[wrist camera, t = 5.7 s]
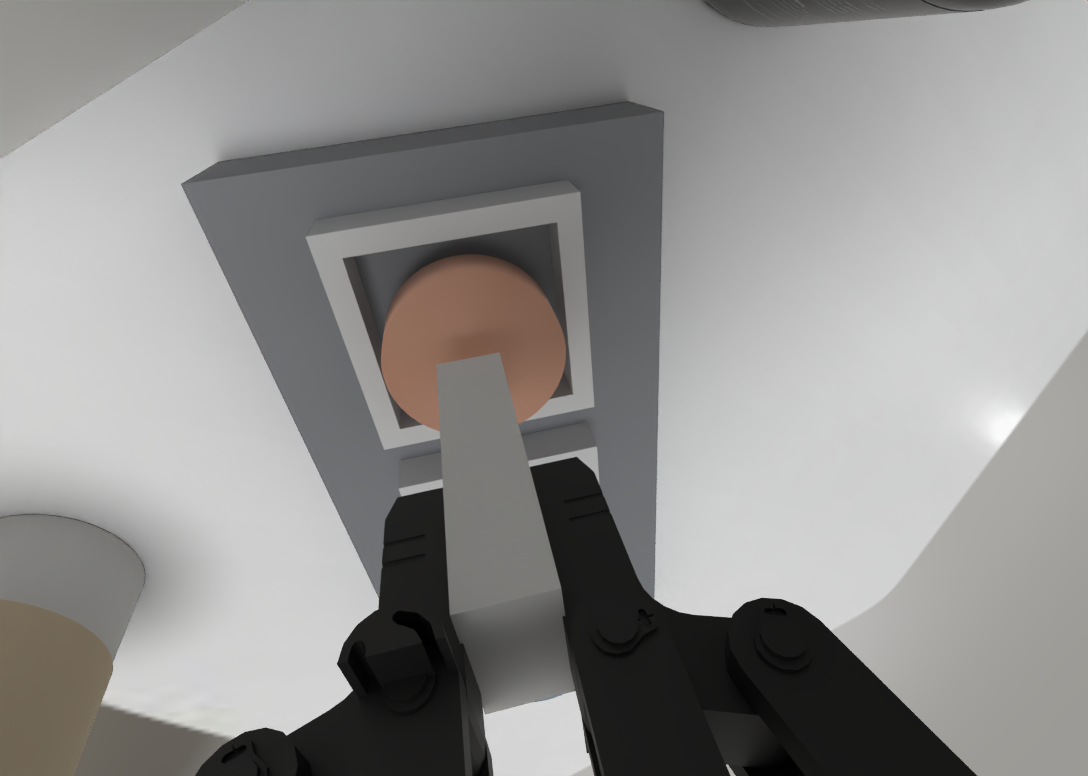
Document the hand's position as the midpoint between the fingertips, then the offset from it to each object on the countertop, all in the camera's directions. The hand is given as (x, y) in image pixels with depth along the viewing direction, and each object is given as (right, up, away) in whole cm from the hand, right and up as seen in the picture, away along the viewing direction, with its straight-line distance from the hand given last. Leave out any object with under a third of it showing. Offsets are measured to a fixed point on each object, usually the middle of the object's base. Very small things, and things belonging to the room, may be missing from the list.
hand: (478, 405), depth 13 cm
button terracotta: (-1, +2, +3) cm, 3 cm away
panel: (0, -3, +12) cm, 12 cm away
